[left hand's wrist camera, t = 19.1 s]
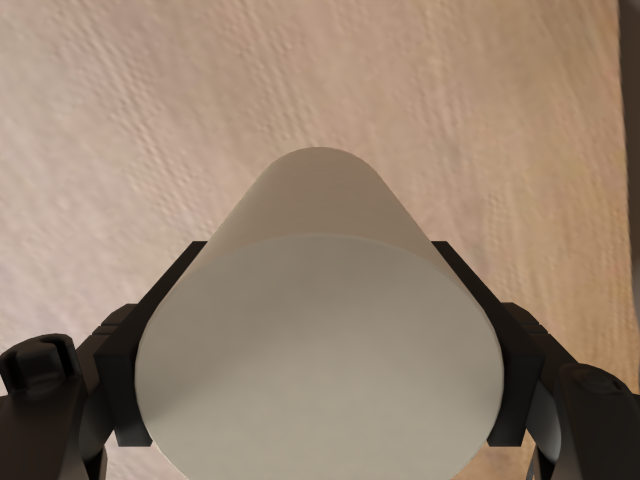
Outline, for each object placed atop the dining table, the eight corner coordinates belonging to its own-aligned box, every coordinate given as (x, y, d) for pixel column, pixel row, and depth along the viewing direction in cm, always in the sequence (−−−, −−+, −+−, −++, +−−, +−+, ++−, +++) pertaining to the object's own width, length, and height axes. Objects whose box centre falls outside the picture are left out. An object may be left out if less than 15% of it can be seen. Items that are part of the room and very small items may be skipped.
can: (377, 296, 21) (446, 536, 10) (240, 279, 21) (139, 507, 9) (409, 159, 18) (566, 265, 7) (251, 135, 18) (123, 203, 6)
